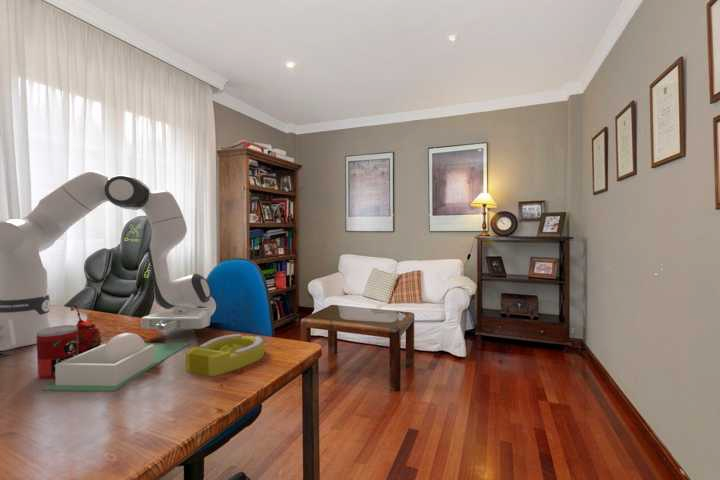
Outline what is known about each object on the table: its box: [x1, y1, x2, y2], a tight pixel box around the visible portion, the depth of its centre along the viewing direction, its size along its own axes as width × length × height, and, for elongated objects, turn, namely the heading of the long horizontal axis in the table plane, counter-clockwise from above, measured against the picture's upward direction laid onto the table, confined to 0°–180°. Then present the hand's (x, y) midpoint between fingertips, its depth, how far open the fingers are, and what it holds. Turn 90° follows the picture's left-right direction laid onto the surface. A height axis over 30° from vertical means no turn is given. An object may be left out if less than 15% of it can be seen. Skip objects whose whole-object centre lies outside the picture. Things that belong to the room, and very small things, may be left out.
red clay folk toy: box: [70, 301, 102, 355], centre depth 100 cm, size 8×7×15 cm
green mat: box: [42, 342, 189, 392], centre depth 91 cm, size 31×16×1 cm, turn 178°
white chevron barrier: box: [55, 343, 155, 386], centre depth 84 cm, size 14×14×5 cm
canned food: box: [36, 324, 79, 380], centre depth 85 cm, size 8×8×11 cm
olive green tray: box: [185, 333, 265, 377], centre depth 94 cm, size 16×21×5 cm
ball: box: [103, 332, 146, 364], centre depth 88 cm, size 9×9×9 cm
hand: (160, 327), depth 105 cm, fingers closed
